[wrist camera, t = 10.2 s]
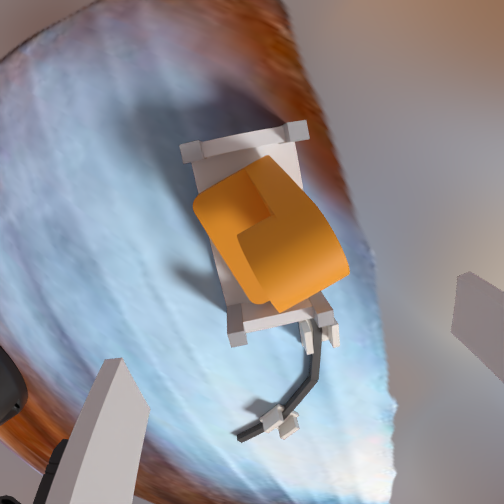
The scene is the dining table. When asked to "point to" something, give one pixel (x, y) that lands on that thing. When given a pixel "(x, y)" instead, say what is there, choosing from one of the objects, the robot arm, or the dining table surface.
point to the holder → (238, 304)
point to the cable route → (285, 415)
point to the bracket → (271, 235)
